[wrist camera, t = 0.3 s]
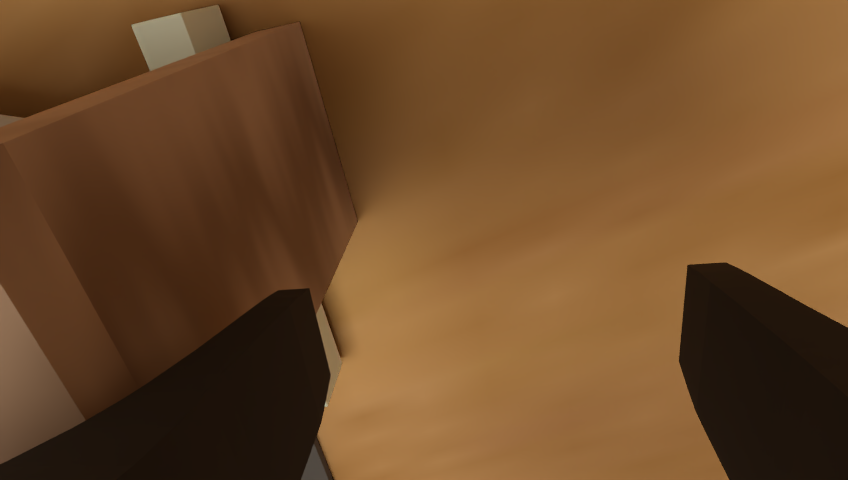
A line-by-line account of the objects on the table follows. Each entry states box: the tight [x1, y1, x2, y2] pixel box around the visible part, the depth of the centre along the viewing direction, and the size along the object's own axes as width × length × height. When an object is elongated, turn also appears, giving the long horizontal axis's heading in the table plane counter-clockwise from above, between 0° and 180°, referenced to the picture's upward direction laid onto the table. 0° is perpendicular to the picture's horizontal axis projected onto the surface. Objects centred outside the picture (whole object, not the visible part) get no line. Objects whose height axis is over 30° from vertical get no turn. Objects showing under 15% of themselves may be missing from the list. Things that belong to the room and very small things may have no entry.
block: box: [131, 5, 342, 407], centre depth 23 cm, size 28×17×4 cm, turn 12°
